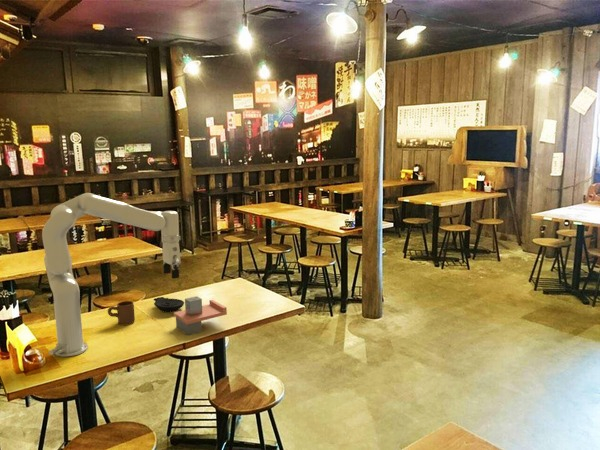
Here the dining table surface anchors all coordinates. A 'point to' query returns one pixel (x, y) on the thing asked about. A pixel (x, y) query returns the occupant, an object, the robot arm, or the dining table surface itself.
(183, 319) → the stand
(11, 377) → the dining table surface
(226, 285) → the dining table surface
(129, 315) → the mug
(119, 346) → the dining table surface
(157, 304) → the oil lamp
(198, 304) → the block
